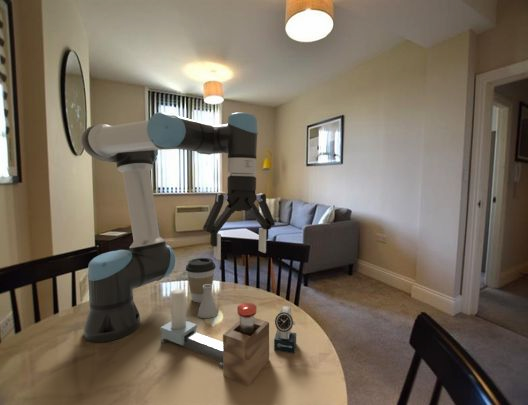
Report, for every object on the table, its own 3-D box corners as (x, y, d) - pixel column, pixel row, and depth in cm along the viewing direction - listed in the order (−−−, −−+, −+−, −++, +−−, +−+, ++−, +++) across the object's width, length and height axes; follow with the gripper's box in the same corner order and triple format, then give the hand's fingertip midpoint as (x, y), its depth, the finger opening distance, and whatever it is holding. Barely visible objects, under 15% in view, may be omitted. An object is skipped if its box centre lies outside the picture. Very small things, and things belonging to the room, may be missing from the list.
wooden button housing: (223, 375, 62) (222, 334, 61) (245, 351, 70) (245, 315, 70) (248, 386, 58) (248, 343, 58) (269, 359, 67) (269, 322, 66)
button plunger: (233, 334, 63) (233, 309, 62) (244, 325, 67) (244, 301, 66) (250, 339, 61) (250, 313, 60) (259, 329, 65) (259, 305, 64)
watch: (272, 354, 69) (272, 314, 68) (278, 337, 77) (278, 301, 76) (293, 358, 68) (294, 317, 67) (297, 340, 76) (297, 303, 75)
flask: (213, 320, 87) (213, 290, 86) (193, 318, 88) (192, 289, 87) (221, 309, 94) (221, 282, 93) (202, 307, 95) (202, 281, 94)
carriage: (160, 337, 74) (159, 293, 73) (177, 327, 80) (175, 285, 79) (181, 345, 71) (180, 298, 70) (196, 334, 76) (196, 290, 75)
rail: (161, 342, 75) (160, 331, 74) (177, 331, 80) (176, 322, 80) (223, 367, 64) (223, 356, 64) (237, 353, 69) (237, 342, 69)
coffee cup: (222, 296, 104) (221, 259, 103) (201, 308, 95) (200, 267, 94) (201, 290, 110) (200, 255, 109) (179, 300, 101) (179, 262, 100)
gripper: (200, 173, 58) (200, 266, 60) (288, 176, 72) (286, 252, 74) (190, 174, 65) (190, 257, 67) (273, 176, 78) (271, 246, 80)
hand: (240, 255), depth 70 cm, fingers open, 13 cm apart
